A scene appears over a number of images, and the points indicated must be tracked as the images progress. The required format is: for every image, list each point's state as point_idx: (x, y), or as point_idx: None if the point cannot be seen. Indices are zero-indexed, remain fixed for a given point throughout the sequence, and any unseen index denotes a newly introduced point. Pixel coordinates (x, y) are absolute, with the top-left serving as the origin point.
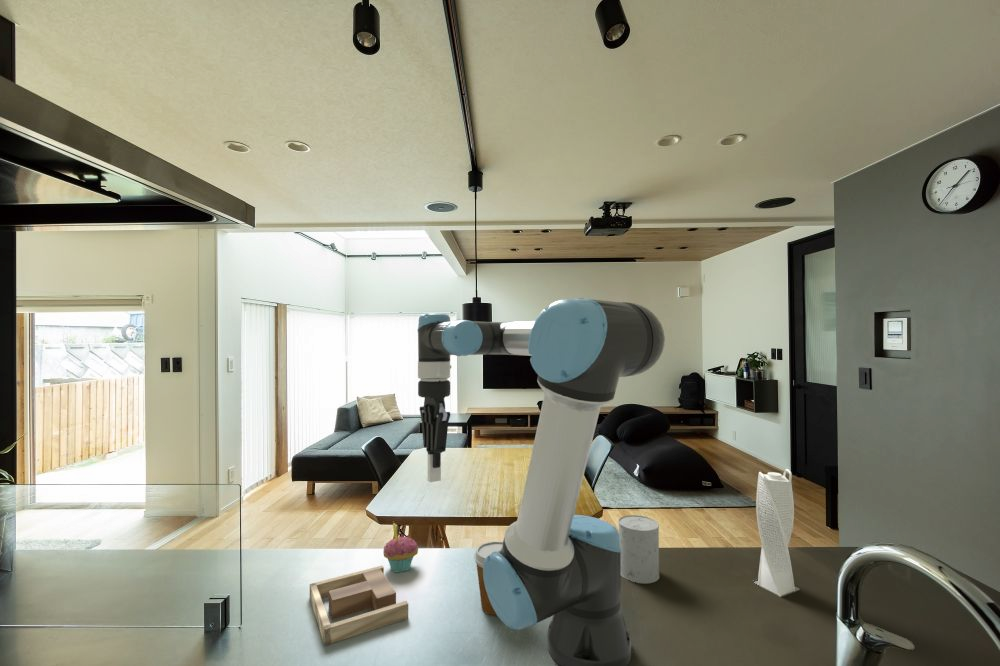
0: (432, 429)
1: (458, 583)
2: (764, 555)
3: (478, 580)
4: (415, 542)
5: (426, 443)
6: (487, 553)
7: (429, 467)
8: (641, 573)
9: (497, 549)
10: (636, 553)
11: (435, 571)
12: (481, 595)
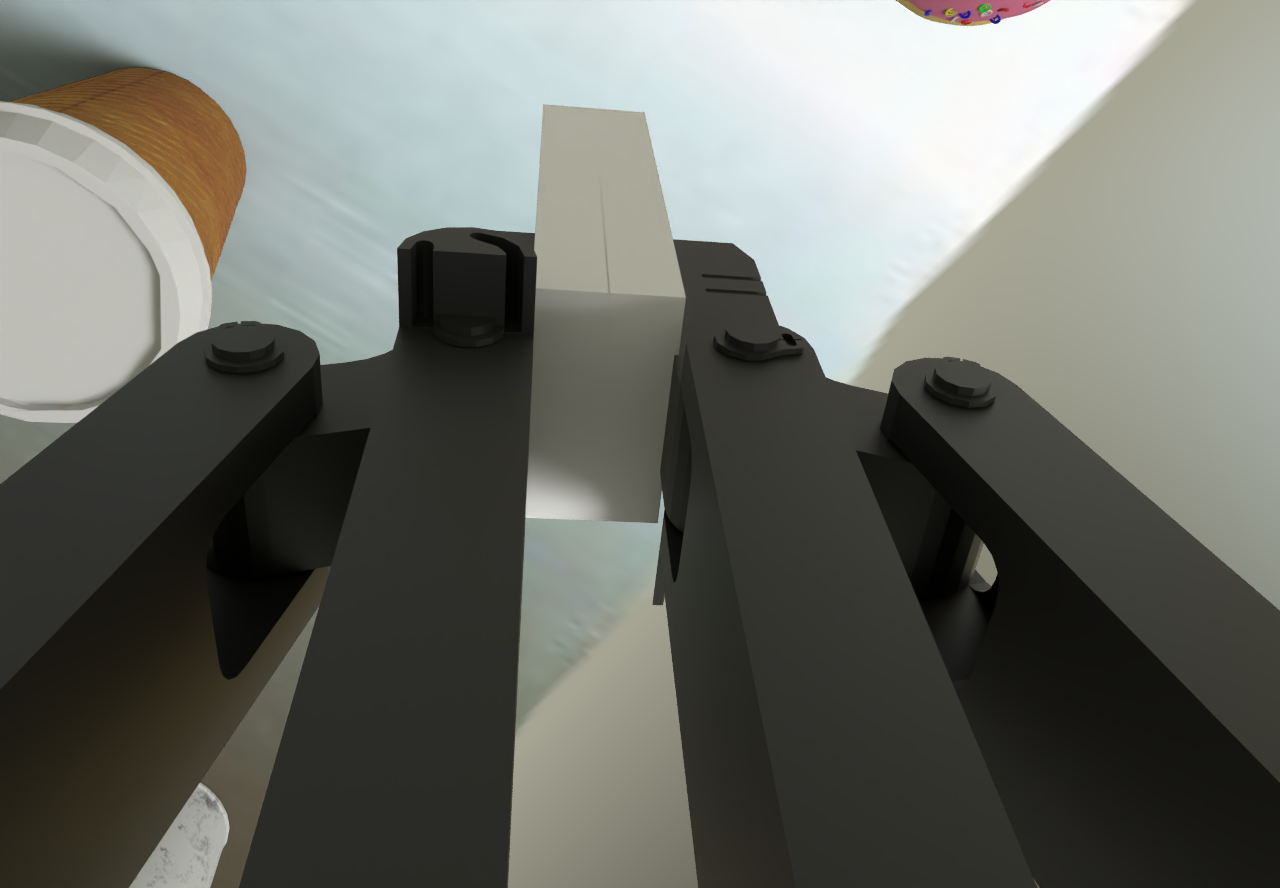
0: (290, 784)
1: (506, 104)
2: None
3: (133, 104)
4: (946, 5)
5: (837, 419)
6: (17, 215)
7: (569, 182)
8: None
9: (54, 310)
10: None
11: (730, 53)
12: (117, 80)
